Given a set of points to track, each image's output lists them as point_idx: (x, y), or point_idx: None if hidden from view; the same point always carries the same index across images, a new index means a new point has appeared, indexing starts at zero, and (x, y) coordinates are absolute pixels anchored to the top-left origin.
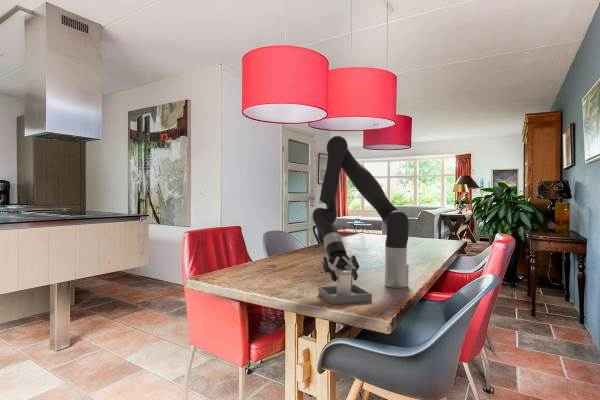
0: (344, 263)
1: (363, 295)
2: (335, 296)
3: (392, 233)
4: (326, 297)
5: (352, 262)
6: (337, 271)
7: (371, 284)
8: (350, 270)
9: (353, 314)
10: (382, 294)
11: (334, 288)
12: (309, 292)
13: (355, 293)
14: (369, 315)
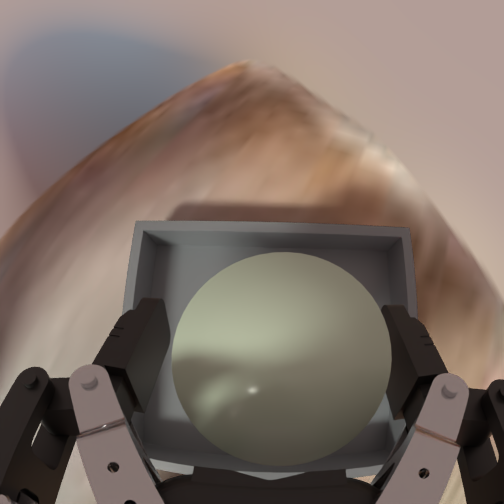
0: (205, 494)
1: (194, 223)
2: (390, 230)
3: None
4: None
5: (41, 502)
6: (388, 351)
7: None
8: (174, 358)
9: (334, 119)
10: (38, 331)
11: (290, 466)
12: None
13: (161, 393)
14: (276, 97)
